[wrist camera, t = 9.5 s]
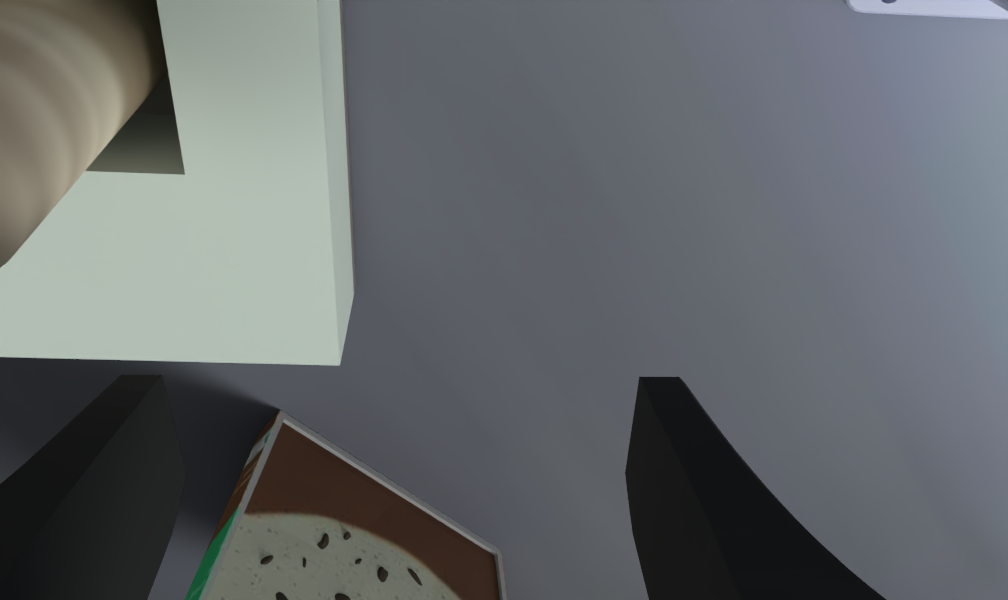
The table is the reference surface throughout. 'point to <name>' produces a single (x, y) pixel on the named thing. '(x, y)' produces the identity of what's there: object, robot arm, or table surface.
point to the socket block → (206, 205)
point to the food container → (336, 533)
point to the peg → (66, 96)
